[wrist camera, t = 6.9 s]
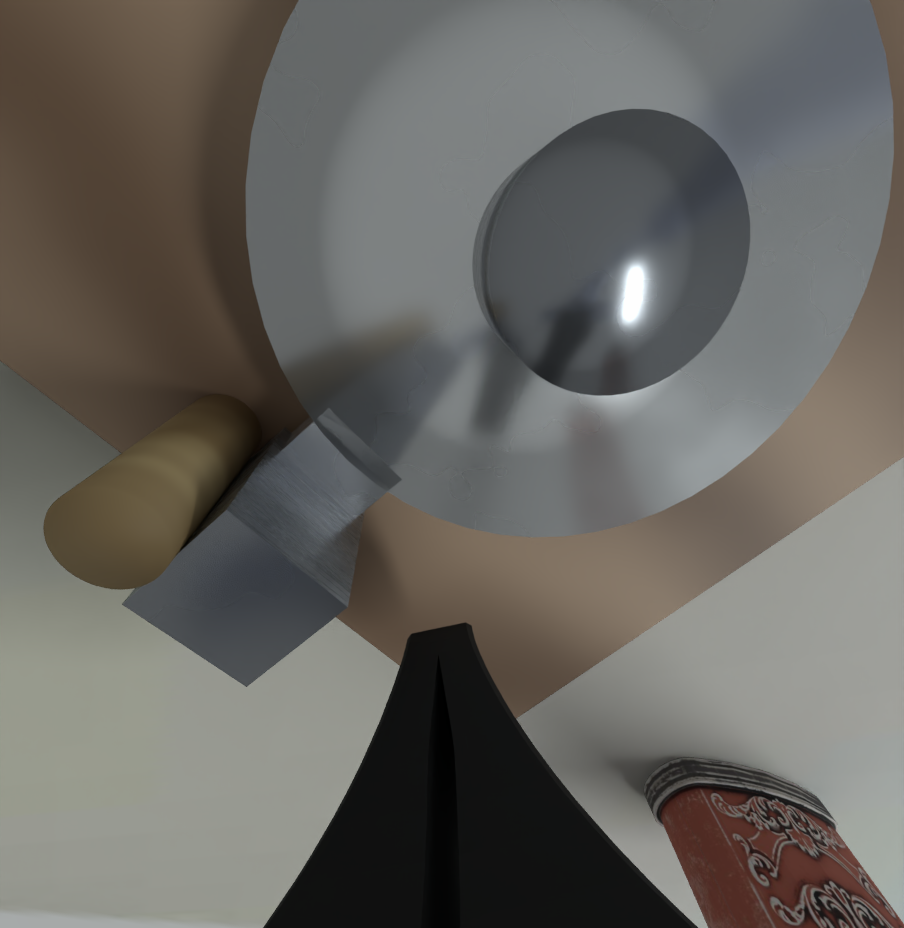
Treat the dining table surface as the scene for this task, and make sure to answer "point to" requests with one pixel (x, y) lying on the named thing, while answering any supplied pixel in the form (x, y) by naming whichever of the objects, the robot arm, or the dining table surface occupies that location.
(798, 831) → the lighter
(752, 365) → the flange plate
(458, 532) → the walnut board
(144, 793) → the dining table surface
